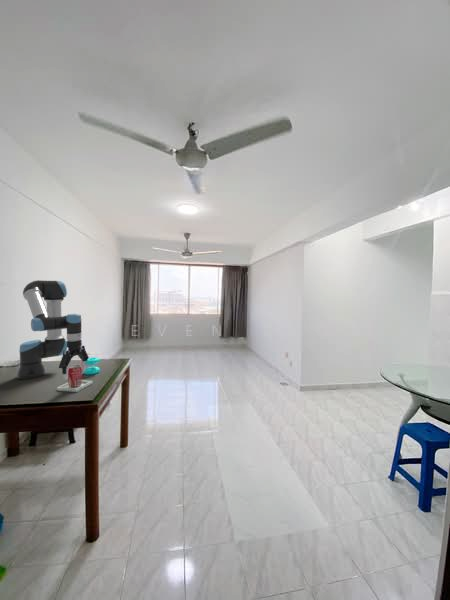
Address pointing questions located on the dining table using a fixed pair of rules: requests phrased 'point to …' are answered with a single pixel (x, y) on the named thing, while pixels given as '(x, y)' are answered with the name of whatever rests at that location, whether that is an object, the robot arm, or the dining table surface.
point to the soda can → (74, 376)
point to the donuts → (92, 369)
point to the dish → (66, 388)
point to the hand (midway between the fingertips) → (74, 375)
